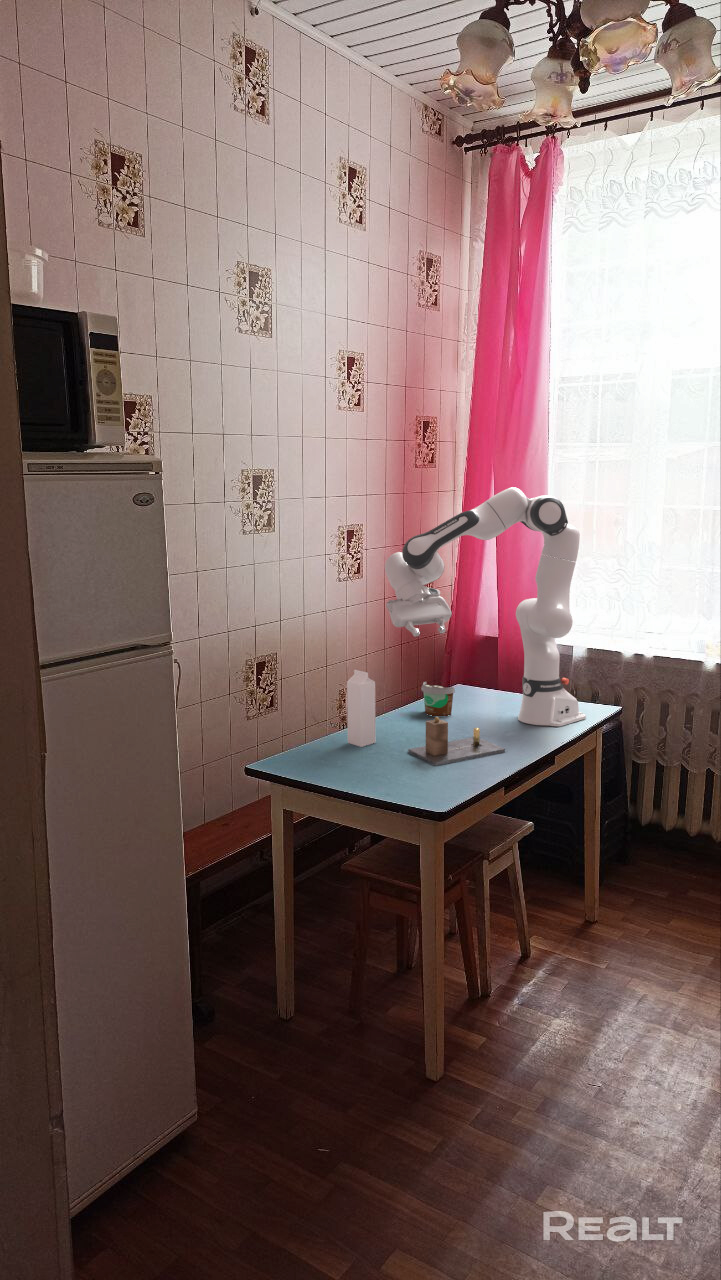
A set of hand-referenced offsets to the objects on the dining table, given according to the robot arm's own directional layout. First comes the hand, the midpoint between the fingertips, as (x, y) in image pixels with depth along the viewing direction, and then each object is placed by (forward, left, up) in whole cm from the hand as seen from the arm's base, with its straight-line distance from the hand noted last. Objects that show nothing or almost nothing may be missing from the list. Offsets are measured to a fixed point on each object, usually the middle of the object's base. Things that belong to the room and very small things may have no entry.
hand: (430, 633), depth 272 cm
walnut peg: (+12, +21, -30) cm, 38 cm away
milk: (+24, -1, -31) cm, 39 cm away
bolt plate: (+5, +21, -31) cm, 38 cm away
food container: (-12, -16, -31) cm, 37 cm away
